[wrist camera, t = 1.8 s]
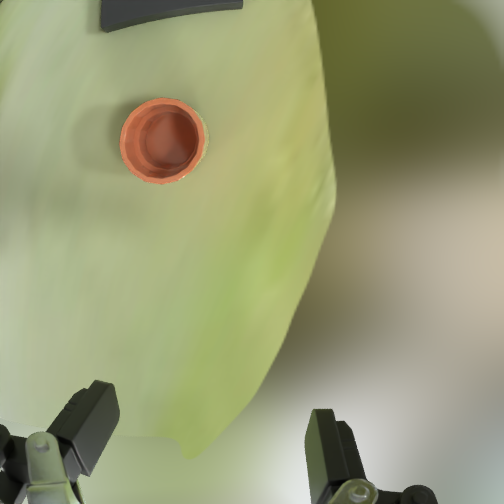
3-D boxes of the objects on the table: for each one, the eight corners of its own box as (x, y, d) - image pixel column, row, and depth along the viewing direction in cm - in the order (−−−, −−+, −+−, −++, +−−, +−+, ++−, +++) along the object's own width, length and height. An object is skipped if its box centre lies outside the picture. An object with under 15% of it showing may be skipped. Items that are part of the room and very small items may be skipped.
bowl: (126, 133, 23) (104, 133, 19) (184, 91, 22) (173, 81, 18) (164, 188, 25) (150, 200, 21) (222, 148, 25) (221, 151, 20)
